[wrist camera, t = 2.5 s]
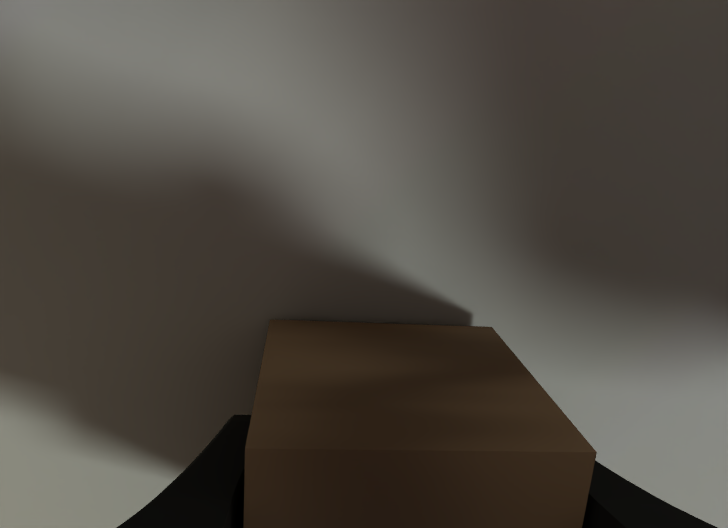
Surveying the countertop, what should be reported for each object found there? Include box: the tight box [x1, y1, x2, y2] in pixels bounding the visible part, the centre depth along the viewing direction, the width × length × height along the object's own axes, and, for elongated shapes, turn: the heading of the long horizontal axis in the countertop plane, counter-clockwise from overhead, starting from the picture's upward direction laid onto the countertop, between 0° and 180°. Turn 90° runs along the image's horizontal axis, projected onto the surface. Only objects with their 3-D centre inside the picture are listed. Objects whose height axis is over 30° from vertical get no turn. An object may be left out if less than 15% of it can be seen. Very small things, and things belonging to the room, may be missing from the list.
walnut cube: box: [243, 319, 597, 528], centre depth 11 cm, size 5×5×5 cm
